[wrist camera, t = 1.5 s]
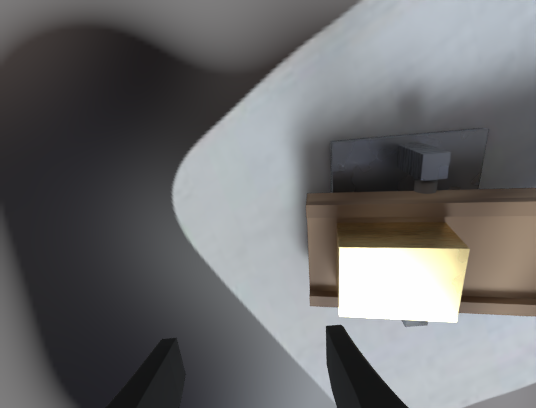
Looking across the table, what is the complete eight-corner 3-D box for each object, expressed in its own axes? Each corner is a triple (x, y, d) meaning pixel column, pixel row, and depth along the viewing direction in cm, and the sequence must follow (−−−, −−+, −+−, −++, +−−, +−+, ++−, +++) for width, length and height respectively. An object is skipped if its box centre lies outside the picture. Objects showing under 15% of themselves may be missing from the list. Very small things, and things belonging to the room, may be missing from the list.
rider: (445, 222, 17) (469, 248, 14) (436, 286, 18) (456, 322, 16) (336, 222, 18) (339, 247, 15) (336, 283, 19) (339, 316, 17)
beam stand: (482, 128, 19) (531, 136, 16) (454, 291, 24) (487, 325, 21) (330, 141, 20) (345, 152, 16) (331, 301, 24) (343, 337, 21)
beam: (641, 171, 16) (699, 186, 14) (593, 298, 19) (634, 329, 17) (307, 181, 19) (305, 195, 17) (311, 288, 22) (310, 313, 20)
